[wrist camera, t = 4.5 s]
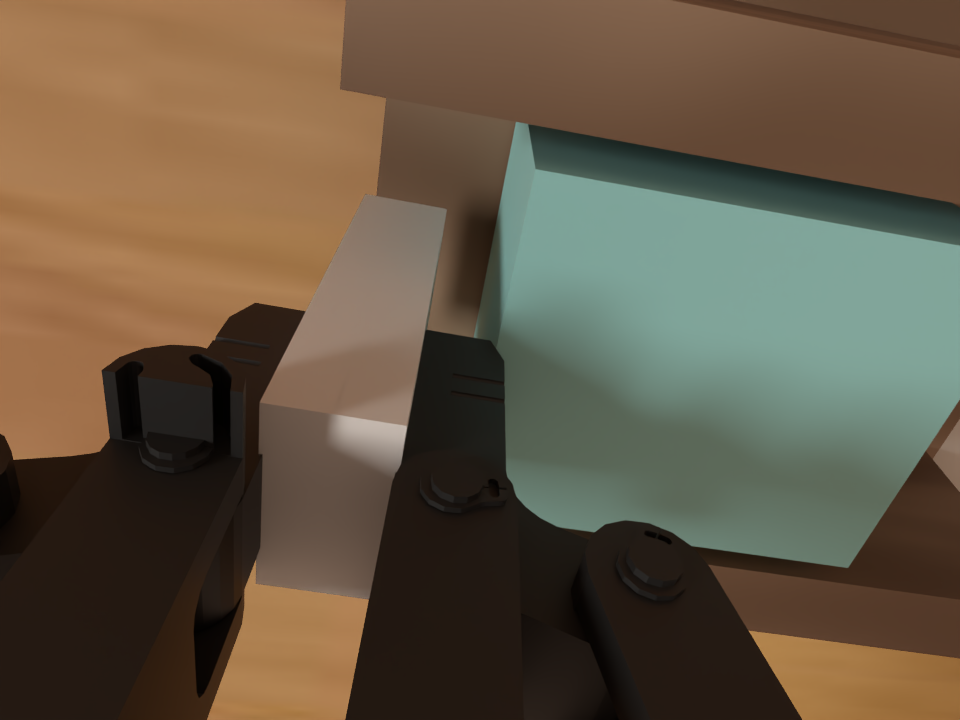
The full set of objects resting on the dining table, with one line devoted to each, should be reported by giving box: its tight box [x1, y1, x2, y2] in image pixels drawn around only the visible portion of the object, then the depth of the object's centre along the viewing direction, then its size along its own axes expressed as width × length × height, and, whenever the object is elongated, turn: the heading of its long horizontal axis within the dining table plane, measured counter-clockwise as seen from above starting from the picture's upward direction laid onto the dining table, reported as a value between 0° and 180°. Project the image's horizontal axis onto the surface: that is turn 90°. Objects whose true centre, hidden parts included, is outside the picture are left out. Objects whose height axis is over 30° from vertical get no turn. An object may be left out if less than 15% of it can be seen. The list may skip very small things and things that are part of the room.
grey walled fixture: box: [340, 0, 960, 658], centre depth 14 cm, size 16×23×6 cm
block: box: [474, 122, 960, 568], centre depth 13 cm, size 6×7×5 cm
